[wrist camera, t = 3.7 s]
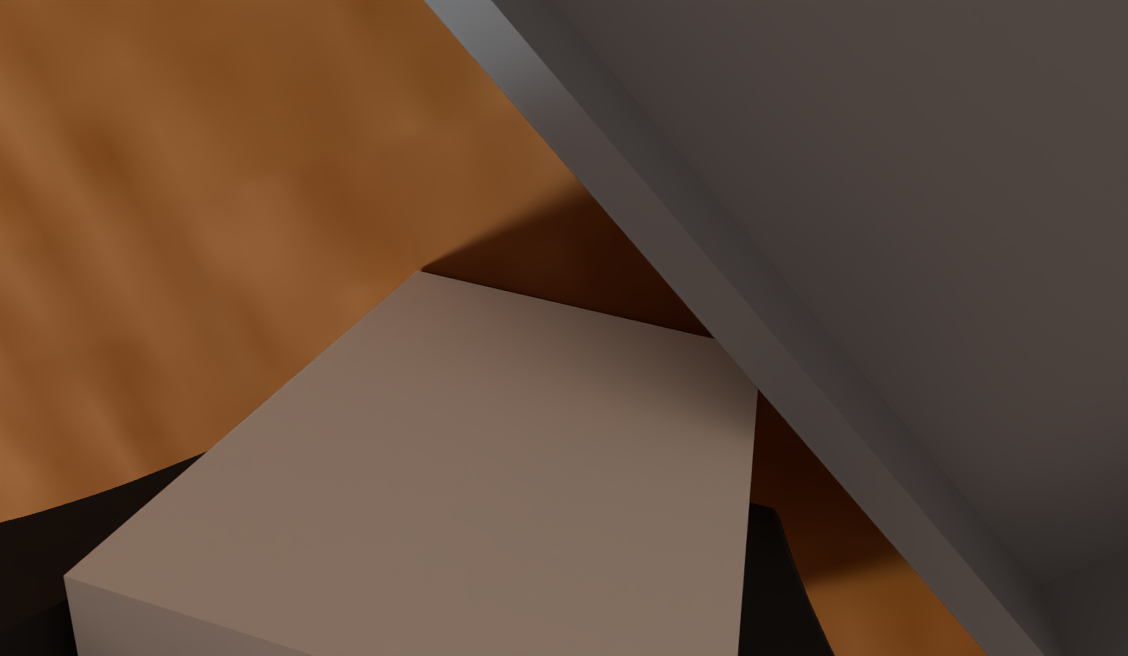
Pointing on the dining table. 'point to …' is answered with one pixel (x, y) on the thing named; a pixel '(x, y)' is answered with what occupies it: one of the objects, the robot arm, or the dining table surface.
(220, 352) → the dining table surface
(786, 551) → the robot arm
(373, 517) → the white mallet
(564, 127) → the bin
